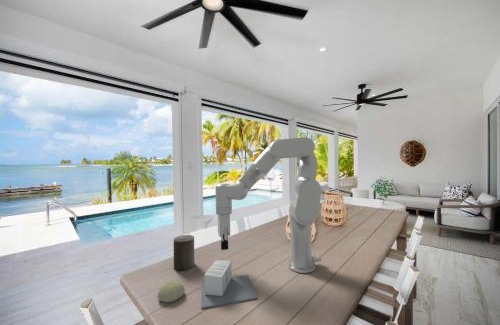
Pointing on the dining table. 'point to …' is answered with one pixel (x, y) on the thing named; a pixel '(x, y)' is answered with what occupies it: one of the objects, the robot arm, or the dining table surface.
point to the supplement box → (217, 278)
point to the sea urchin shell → (171, 291)
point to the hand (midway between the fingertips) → (224, 249)
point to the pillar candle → (183, 252)
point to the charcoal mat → (230, 293)
